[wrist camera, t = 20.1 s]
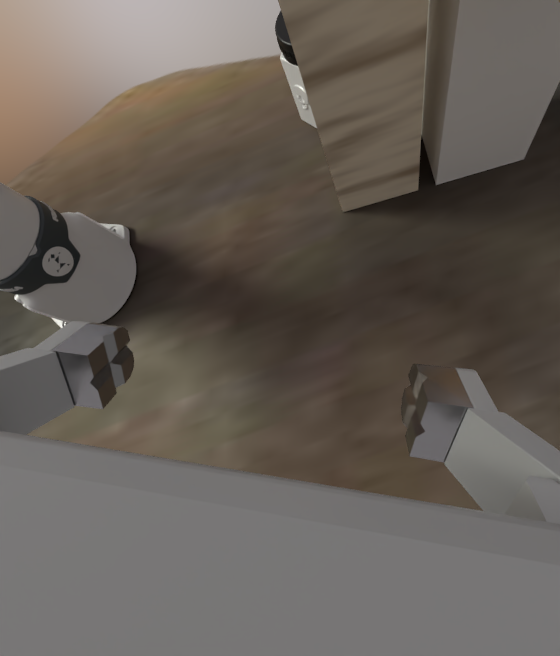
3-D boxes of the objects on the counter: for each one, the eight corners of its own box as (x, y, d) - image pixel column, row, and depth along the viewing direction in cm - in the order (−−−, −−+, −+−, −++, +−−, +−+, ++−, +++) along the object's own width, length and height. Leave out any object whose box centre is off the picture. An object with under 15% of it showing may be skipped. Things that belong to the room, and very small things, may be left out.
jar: (289, 114, 50) (257, 30, 39) (329, 71, 50) (307, -27, 39) (334, 141, 47) (312, 57, 36) (376, 95, 46) (368, -6, 35)
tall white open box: (523, 159, 38) (632, -80, 20) (435, 185, 41) (460, -5, 22) (502, 102, 40) (582, -158, 22) (420, 130, 43) (431, -82, 25)
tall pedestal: (418, 190, 41) (435, -120, 17) (342, 212, 44) (268, -32, 20) (403, 136, 44) (401, -203, 20) (332, 160, 46) (255, -114, 22)
